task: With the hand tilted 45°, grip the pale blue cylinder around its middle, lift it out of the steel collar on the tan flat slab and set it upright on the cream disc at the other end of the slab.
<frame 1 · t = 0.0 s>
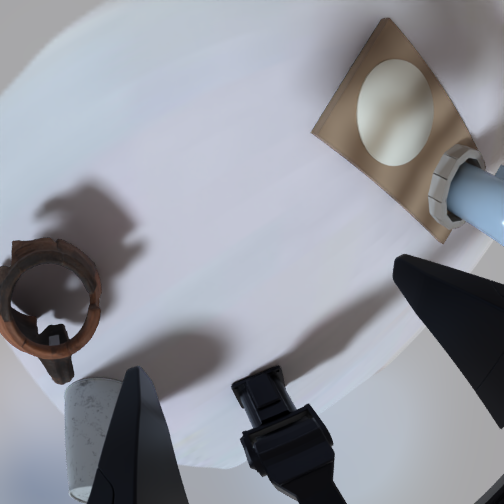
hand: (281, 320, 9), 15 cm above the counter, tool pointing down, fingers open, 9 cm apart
pottery mug: (49, 287, 21), on the counter
tan flat slab: (424, 150, 27), on the counter
tall grey pillar block: (103, 400, 29), on the counter
pale blue cylinder: (453, 184, 30), point 1 cm above the counter, touching tan flat slab
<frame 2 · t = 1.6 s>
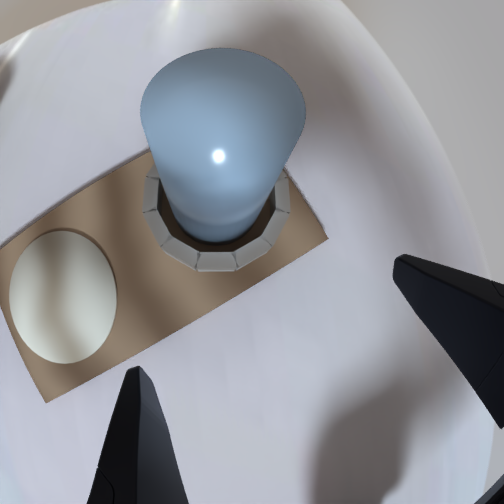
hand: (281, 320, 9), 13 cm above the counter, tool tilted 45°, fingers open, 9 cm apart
tan flat slab: (135, 253, 22), on the counter
pale blue cylinder: (215, 202, 22), point 1 cm above the counter, touching tan flat slab
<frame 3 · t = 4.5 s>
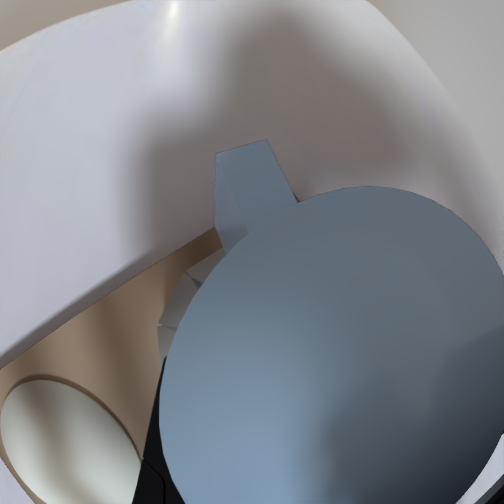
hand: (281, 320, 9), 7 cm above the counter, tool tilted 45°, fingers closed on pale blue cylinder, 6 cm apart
tan flat slab: (155, 409, 15), on the counter
pale blue cylinder: (264, 344, 15), point 1 cm above the counter, touching gripper, tan flat slab
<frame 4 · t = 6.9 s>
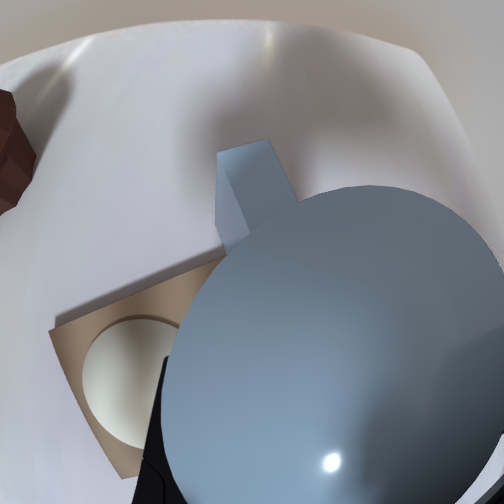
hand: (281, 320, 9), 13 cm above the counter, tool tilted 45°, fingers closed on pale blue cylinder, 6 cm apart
tan flat slab: (235, 350, 22), on the counter
muffin: (3, 176, 22), on the counter
pale blue cylinder: (264, 343, 15), point 7 cm above the counter, touching gripper
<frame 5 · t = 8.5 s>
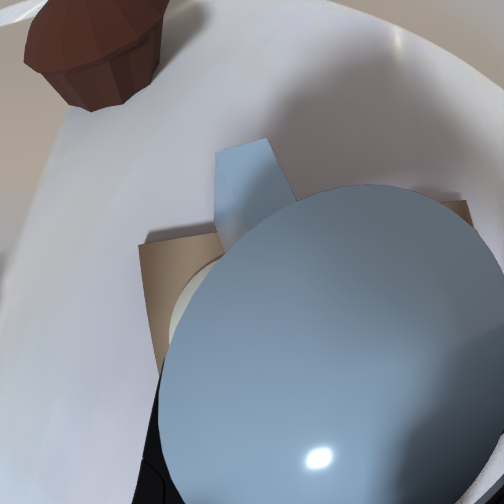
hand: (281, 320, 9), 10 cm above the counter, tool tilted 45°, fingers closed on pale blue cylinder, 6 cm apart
tan flat slab: (357, 312, 19), on the counter
muffin: (110, 74, 21), on the counter
pale blue cylinder: (264, 343, 15), point 3 cm above the counter, touching gripper
when the fingers open (9 cm above the counter, at t = 9.6 s): pale blue cylinder drops 1 cm, resting on tan flat slab.
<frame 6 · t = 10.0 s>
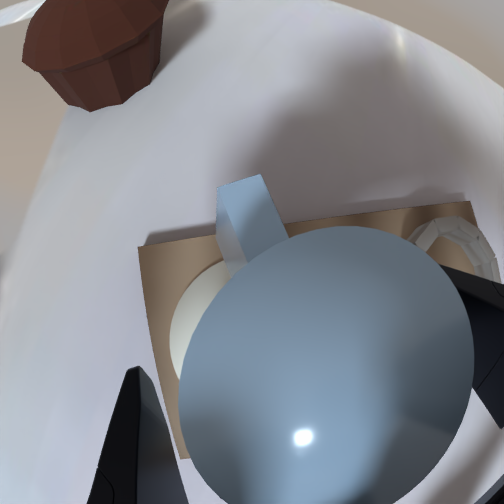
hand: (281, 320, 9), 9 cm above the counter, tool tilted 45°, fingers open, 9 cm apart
tan flat slab: (361, 315, 19), on the counter
muffin: (110, 73, 21), on the counter
pale blue cylinder: (261, 344, 17), point 1 cm above the counter, touching tan flat slab
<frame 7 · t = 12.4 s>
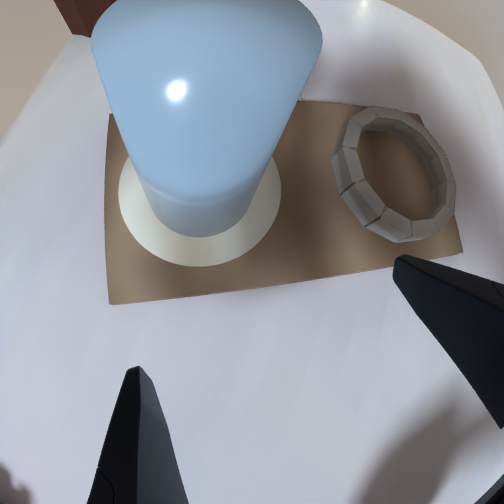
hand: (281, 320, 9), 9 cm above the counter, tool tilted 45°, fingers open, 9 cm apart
tan flat slab: (303, 183, 21), on the counter
muffin: (109, 14, 22), on the counter
pale blue cylinder: (200, 185, 18), point 1 cm above the counter, touching tan flat slab
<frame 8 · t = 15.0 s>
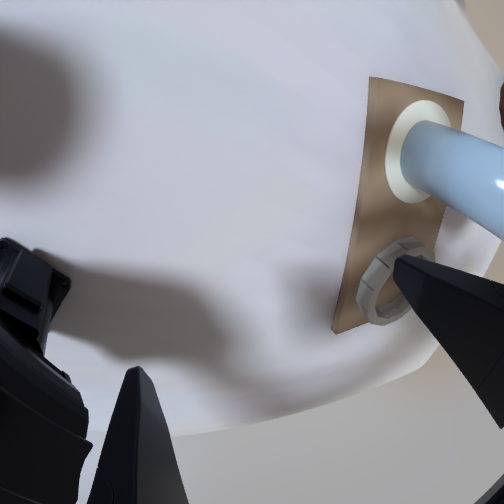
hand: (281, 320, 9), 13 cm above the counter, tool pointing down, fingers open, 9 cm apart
tan flat slab: (401, 216, 28), on the counter
pale blue cylinder: (423, 153, 23), point 1 cm above the counter, touching tan flat slab
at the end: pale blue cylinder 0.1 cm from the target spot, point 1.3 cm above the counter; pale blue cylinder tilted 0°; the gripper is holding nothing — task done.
